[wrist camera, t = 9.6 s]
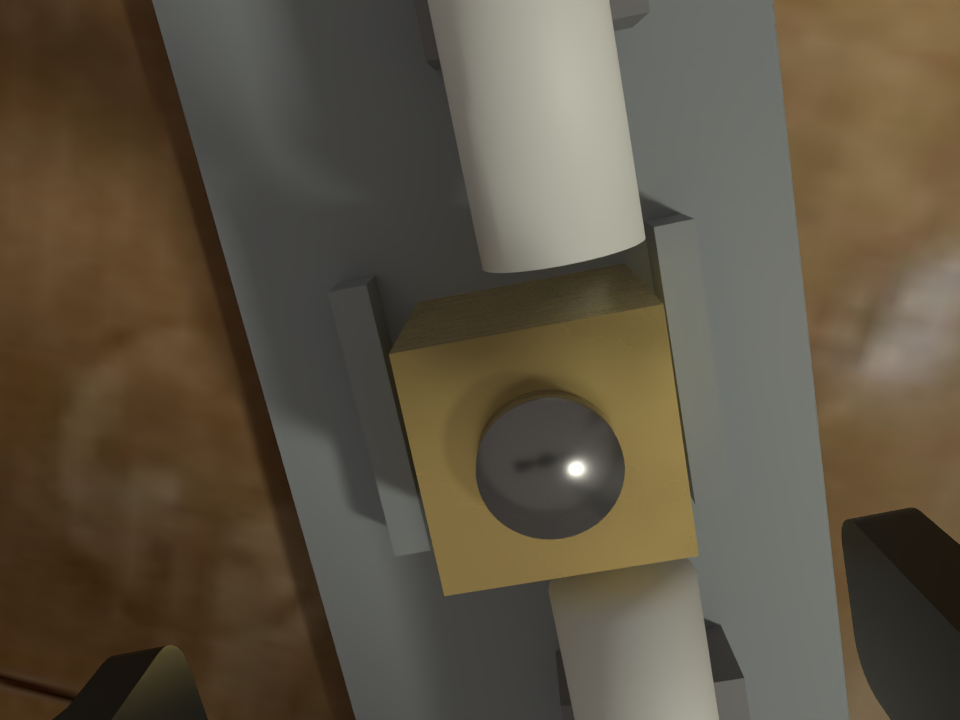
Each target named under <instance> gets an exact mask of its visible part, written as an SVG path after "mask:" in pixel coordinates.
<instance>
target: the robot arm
mask: <svg viewBox="0 0 960 720" xmlns="http://www.w3.org/2000/svg"><path fill="white" fill-rule="evenodd" d="M842 546H843V553H844V561H845V568H846V576H847V583H848V591H849V598H850V606H851V613H852V621H853V628H854V636H855V642H856V647H857V652H858V655H859V659H860V662H861V665H862V668H863V671H864V674H865V676H866V679H867V681H868V683H869V685H870V688H871V690H872V692H873V693H874V695H875V697H876V699H877V700H878V702H879V703H880V705H881V706H882V708H883V709H884V710H885V712H886V713H887V715H888V716H889V718H890V719H891V720H960V545H959V544H958V543H957V542H956V541H955V540H953V539H952V538H951V537H950V536H949V535H948V534H946V533H945V532H944V531H943V530H942V529H941V528H939V527H938V526H937V525H936V524H935V523H934V522H932V521H931V520H930V519H929V518H928V517H927V516H925V515H924V514H923V513H922V512H921V511H919V510H918V509H916V508H906V509H900V510H895V511H890V512H884V513H879V514H874V515H868V516H863V517H858V518H852V519H847V520H845V521H844V523H843V526H842ZM53 720H208V719H207V716H206V713H205V710H204V707H203V704H202V702H201V699H200V696H199V693H198V690H197V687H196V684H195V681H194V679H193V676H192V673H191V670H190V667H189V664H188V662H187V659H186V657H185V656H184V654H183V653H182V651H181V650H180V649H179V648H177V647H176V646H173V645H168V646H163V647H157V648H152V649H147V650H141V651H136V652H131V653H125V654H120V655H115V656H112V657H110V658H108V659H107V660H106V661H105V662H104V663H103V664H102V665H101V667H100V668H99V669H98V670H97V672H96V673H95V674H94V675H93V677H92V678H91V679H90V680H89V682H88V683H87V684H86V685H85V687H84V688H83V689H82V690H81V692H80V693H79V694H78V695H77V697H76V698H75V699H74V700H73V702H72V703H71V704H70V705H69V707H68V708H67V709H65V710H64V711H63V712H62V713H60V714H59V715H58V716H57V717H55V718H54V719H53Z"/></svg>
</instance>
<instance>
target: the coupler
mask: <svg viewBox="0 0 960 720" xmlns="http://www.w3.org/2000/svg"><path fill="white" fill-rule="evenodd" d="M389 358H390V362H391V366H392V371H393V375H394V379H395V384H396V388H397V392H398V397H399V401H400V406H401V410H402V414H403V419H404V423H405V427H406V432H407V436H408V440H409V445H410V449H411V453H412V458H413V462H414V466H415V471H416V475H417V479H418V484H419V488H420V493H421V497H422V501H423V506H424V510H425V514H426V519H427V523H428V527H429V532H430V536H431V540H432V545H433V549H434V553H435V558H436V562H437V566H438V571H439V575H440V580H441V584H442V588H443V593H444V596H449V595H455V594H461V593H468V592H474V591H480V590H487V589H493V588H499V587H506V586H512V585H518V584H525V583H531V582H537V581H544V580H550V579H556V578H563V577H569V576H575V575H582V574H588V573H594V572H601V571H607V570H613V569H620V568H626V567H632V566H639V565H645V564H651V563H658V562H664V561H670V560H676V559H683V558H689V557H695V556H699V553H698V545H697V538H696V531H695V524H694V517H693V510H692V503H691V495H690V488H689V481H688V474H687V467H686V460H685V453H684V446H683V438H682V431H681V424H680V417H679V410H678V403H677V396H676V389H675V381H674V374H673V367H672V360H671V353H670V346H669V339H668V331H667V324H666V317H665V310H664V304H663V303H662V302H661V301H660V300H659V299H658V298H657V297H656V296H655V295H654V294H653V293H652V292H651V291H650V290H649V289H648V288H647V287H646V286H645V284H644V283H643V282H642V281H641V280H640V279H639V278H638V277H637V276H636V275H635V274H634V273H633V272H632V271H631V270H630V269H629V268H628V267H627V266H626V265H625V264H619V265H614V266H608V267H603V268H598V269H592V270H587V271H582V272H576V273H571V274H566V275H560V276H555V277H550V278H544V279H539V280H534V281H528V282H523V283H518V284H512V285H507V286H502V287H496V288H491V289H486V290H480V291H475V292H470V293H464V294H459V295H454V296H448V297H443V298H438V299H432V300H427V301H422V302H417V304H416V306H415V308H414V309H413V311H412V313H411V315H410V317H409V319H408V320H407V322H406V324H405V326H404V328H403V329H402V331H401V333H400V335H399V337H398V338H397V340H396V342H395V344H394V346H393V348H392V349H391V351H390V353H389Z"/></svg>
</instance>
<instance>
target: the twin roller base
mask: <svg viewBox="0 0 960 720" xmlns="http://www.w3.org/2000/svg"><path fill="white" fill-rule="evenodd" d="M152 2H153V6H154V9H155V13H156V16H157V20H158V23H159V27H160V30H161V34H162V37H163V41H164V45H165V48H166V52H167V55H168V59H169V62H170V66H171V69H172V73H173V76H174V80H175V83H176V87H177V90H178V94H179V97H180V101H181V105H182V108H183V112H184V115H185V119H186V122H187V126H188V129H189V133H190V136H191V140H192V143H193V147H194V150H195V154H196V157H197V161H198V165H199V168H200V172H201V175H202V179H203V182H204V186H205V189H206V193H207V196H208V200H209V203H210V207H211V210H212V214H213V217H214V221H215V225H216V228H217V232H218V235H219V239H220V242H221V246H222V249H223V253H224V256H225V260H226V263H227V267H228V270H229V274H230V277H231V281H232V285H233V288H234V292H235V295H236V299H237V302H238V306H239V309H240V313H241V316H242V320H243V323H244V327H245V330H246V334H247V337H248V341H249V345H250V348H251V352H252V355H253V359H254V362H255V366H256V369H257V373H258V376H259V380H260V383H261V387H262V390H263V394H264V397H265V401H266V405H267V408H268V412H269V415H270V419H271V422H272V426H273V429H274V433H275V436H276V440H277V443H278V447H279V450H280V454H281V457H282V461H283V465H284V468H285V472H286V475H287V479H288V482H289V486H290V489H291V493H292V496H293V500H294V503H295V507H296V510H297V514H298V517H299V521H300V525H301V528H302V532H303V535H304V539H305V542H306V546H307V549H308V553H309V556H310V560H311V563H312V567H313V570H314V574H315V577H316V581H317V585H318V588H319V592H320V595H321V599H322V602H323V606H324V609H325V613H326V616H327V620H328V623H329V627H330V630H331V634H332V637H333V641H334V645H335V648H336V652H337V655H338V659H339V662H340V666H341V669H342V673H343V676H344V680H345V683H346V687H347V690H348V694H349V697H350V701H351V705H352V708H353V712H354V715H355V719H356V720H849V712H848V703H847V693H846V684H845V674H844V665H843V655H842V646H841V637H840V627H839V618H838V608H837V599H836V589H835V580H834V571H833V561H832V552H831V542H830V533H829V523H828V514H827V505H826V495H825V486H824V476H823V467H822V458H821V448H820V439H819V429H818V420H817V410H816V401H815V392H814V382H813V373H812V363H811V354H810V344H809V335H808V326H807V316H806V307H805V297H804V288H803V278H802V269H801V260H800V250H799V241H798V231H797V222H796V212H795V203H794V194H793V184H792V175H791V165H790V156H789V147H788V137H787V128H786V118H785V109H784V99H783V90H782V81H781V71H780V62H779V52H778V43H777V33H776V24H775V15H774V5H773V0H152ZM619 264H625V265H626V266H627V267H628V268H629V269H630V270H631V271H632V272H633V273H634V274H635V275H636V276H637V277H638V278H639V279H640V280H641V281H642V282H643V283H644V284H645V286H646V287H647V288H648V289H649V290H650V291H651V292H652V293H653V294H654V295H655V296H656V297H657V298H658V299H659V300H660V301H661V302H662V303H663V304H664V310H665V317H666V324H667V331H668V339H669V346H670V353H671V360H672V367H673V374H674V381H675V389H676V396H677V403H678V410H679V417H680V424H681V431H682V438H683V446H684V453H685V460H686V467H687V474H688V481H689V488H690V495H691V503H692V510H693V517H694V524H695V531H696V538H697V545H698V553H699V556H695V557H689V558H683V559H676V560H670V561H664V562H658V563H651V564H645V565H639V566H632V567H626V568H620V569H613V570H607V571H601V572H594V573H588V574H582V575H575V576H569V577H563V578H556V579H550V580H544V581H537V582H531V583H525V584H518V585H512V586H506V587H499V588H493V589H487V590H480V591H474V592H468V593H461V594H455V595H449V596H444V593H443V588H442V584H441V580H440V575H439V571H438V566H437V562H436V558H435V553H434V549H433V545H432V540H431V536H430V532H429V527H428V523H427V519H426V514H425V510H424V506H423V501H422V497H421V493H420V488H419V484H418V479H417V475H416V471H415V466H414V462H413V458H412V453H411V449H410V445H409V440H408V436H407V432H406V427H405V423H404V419H403V414H402V410H401V406H400V401H399V397H398V392H397V388H396V384H395V379H394V375H393V371H392V366H391V362H390V358H389V353H390V351H391V349H392V348H393V346H394V344H395V342H396V340H397V338H398V337H399V335H400V333H401V331H402V329H403V328H404V326H405V324H406V322H407V320H408V319H409V317H410V315H411V313H412V311H413V309H414V308H415V306H416V304H417V302H422V301H427V300H432V299H438V298H443V297H448V296H454V295H459V294H464V293H470V292H475V291H480V290H486V289H491V288H496V287H502V286H507V285H512V284H518V283H523V282H528V281H534V280H539V279H544V278H550V277H555V276H560V275H566V274H571V273H576V272H582V271H587V270H592V269H598V268H603V267H608V266H614V265H619Z"/></svg>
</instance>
